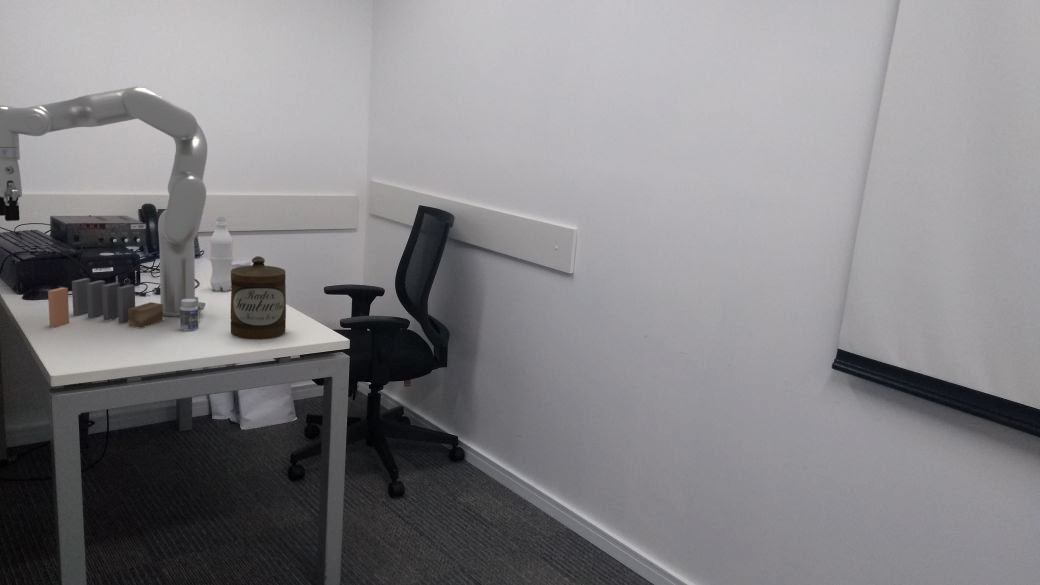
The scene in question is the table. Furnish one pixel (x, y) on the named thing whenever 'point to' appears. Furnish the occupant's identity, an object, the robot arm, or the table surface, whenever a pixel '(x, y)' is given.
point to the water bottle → (221, 256)
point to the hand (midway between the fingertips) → (6, 217)
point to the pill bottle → (189, 315)
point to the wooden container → (258, 301)
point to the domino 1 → (58, 307)
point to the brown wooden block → (145, 314)
